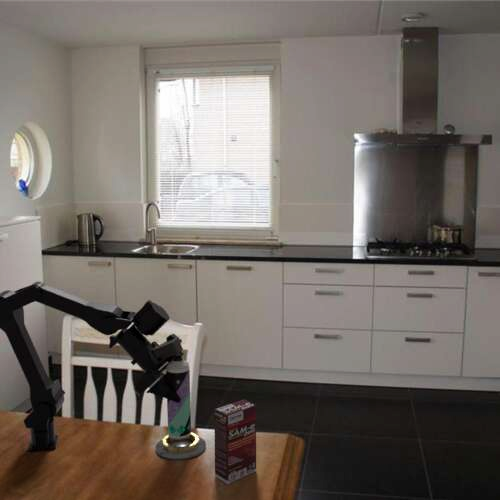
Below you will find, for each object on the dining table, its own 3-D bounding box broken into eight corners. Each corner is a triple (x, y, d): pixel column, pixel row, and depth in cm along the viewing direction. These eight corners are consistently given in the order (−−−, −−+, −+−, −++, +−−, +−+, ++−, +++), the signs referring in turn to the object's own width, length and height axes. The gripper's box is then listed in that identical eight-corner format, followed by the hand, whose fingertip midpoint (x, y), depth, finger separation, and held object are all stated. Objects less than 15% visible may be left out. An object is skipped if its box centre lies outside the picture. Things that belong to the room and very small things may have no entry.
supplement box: (228, 485, 135) (226, 415, 133) (214, 476, 139) (212, 408, 136) (258, 471, 141) (257, 404, 138) (243, 463, 145) (242, 398, 142)
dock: (154, 438, 157) (154, 431, 157) (202, 434, 159) (202, 426, 159) (157, 462, 146) (156, 454, 145) (208, 457, 148) (208, 448, 147)
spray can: (163, 434, 152) (160, 354, 148) (180, 427, 156) (178, 349, 152) (178, 441, 148) (176, 360, 145) (195, 433, 152) (193, 354, 149)
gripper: (145, 339, 139) (193, 391, 139) (175, 316, 157) (218, 362, 156) (113, 370, 143) (160, 421, 142) (146, 344, 160) (188, 389, 160)
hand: (183, 396), depth 150 cm, fingers closed on spray can, 5 cm apart
